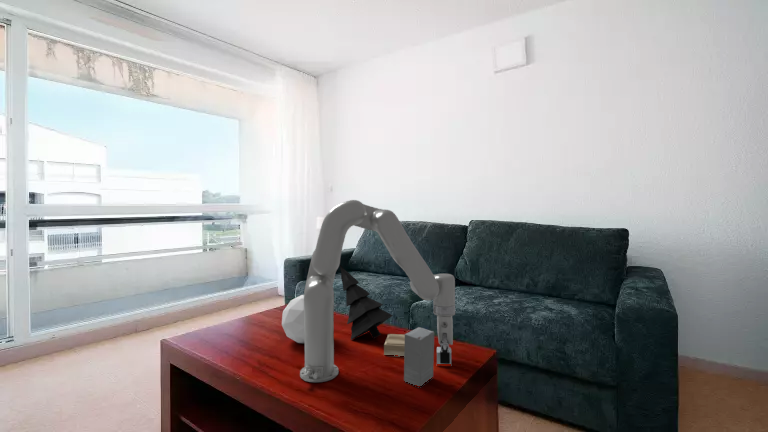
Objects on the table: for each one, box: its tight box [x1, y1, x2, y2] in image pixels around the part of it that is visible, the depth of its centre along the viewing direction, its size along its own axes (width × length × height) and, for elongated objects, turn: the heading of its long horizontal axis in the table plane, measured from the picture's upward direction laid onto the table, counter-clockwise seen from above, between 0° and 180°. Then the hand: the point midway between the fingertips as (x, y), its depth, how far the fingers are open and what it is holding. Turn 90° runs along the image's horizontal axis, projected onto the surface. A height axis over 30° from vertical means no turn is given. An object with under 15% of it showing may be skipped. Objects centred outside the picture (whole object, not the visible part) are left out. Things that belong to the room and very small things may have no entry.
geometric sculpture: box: [281, 294, 305, 344], centre depth 150 cm, size 19×20×20 cm
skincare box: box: [403, 326, 435, 387], centre depth 115 cm, size 8×7×16 cm
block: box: [436, 346, 452, 365], centre depth 128 cm, size 5×5×5 cm
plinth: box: [383, 333, 405, 357], centre depth 141 cm, size 12×12×4 cm
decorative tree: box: [339, 264, 393, 341], centre depth 158 cm, size 15×15×35 cm
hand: (444, 357), depth 128 cm, fingers open, 9 cm apart
